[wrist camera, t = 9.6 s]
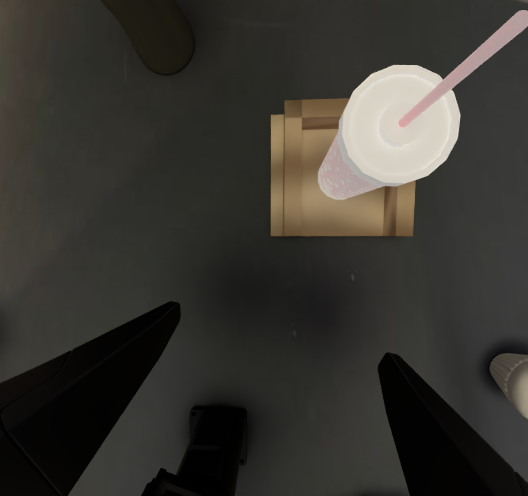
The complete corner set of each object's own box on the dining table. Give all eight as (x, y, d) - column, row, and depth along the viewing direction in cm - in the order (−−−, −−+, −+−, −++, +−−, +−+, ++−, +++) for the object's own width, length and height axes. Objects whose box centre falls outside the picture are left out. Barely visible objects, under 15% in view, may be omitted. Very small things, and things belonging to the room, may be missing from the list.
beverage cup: (313, 211, 20) (416, 153, 6) (306, 150, 19) (394, -78, 5) (375, 202, 19) (649, 115, 5) (368, 139, 19) (642, -133, 5)
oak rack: (404, 236, 20) (427, 236, 17) (271, 236, 21) (270, 236, 18) (409, 117, 19) (434, 95, 16) (271, 121, 20) (270, 100, 17)
